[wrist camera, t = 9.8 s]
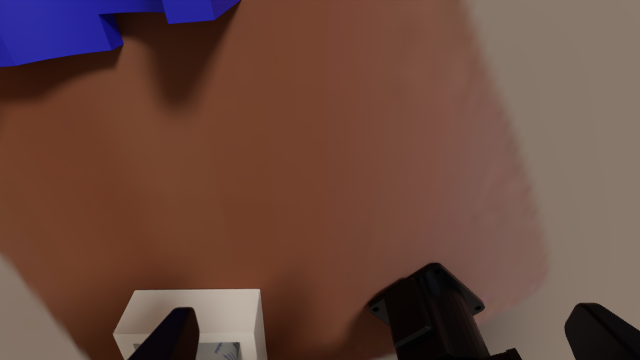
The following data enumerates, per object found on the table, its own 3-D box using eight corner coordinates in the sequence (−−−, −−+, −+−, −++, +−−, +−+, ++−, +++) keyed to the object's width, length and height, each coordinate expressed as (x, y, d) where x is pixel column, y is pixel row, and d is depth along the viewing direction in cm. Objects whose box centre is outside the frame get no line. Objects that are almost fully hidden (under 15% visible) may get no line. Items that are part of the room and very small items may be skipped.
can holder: (259, 288, 27) (253, 332, 24) (267, 360, 32) (263, 404, 29) (135, 290, 27) (112, 334, 24) (161, 362, 31) (146, 406, 28)
